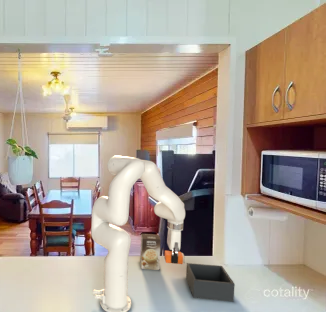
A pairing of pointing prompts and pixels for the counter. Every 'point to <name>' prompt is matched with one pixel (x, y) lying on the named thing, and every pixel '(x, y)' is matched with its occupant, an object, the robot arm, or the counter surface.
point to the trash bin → (209, 282)
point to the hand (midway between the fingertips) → (173, 259)
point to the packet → (180, 257)
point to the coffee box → (150, 251)
